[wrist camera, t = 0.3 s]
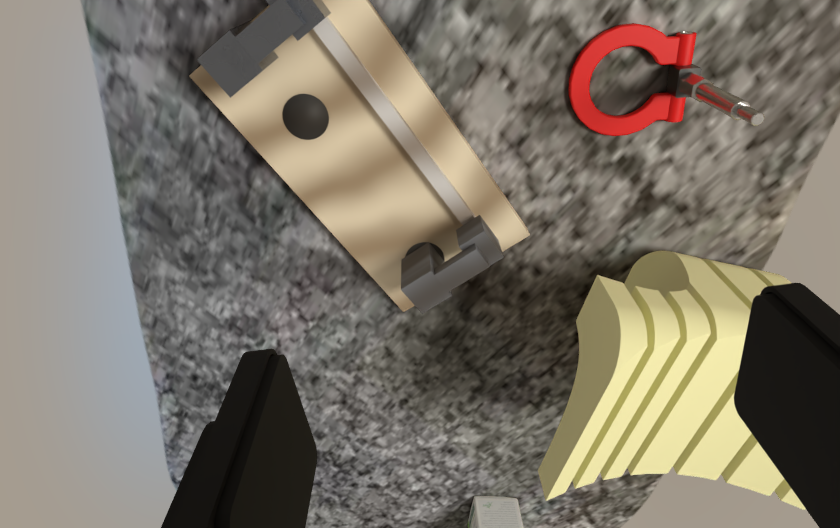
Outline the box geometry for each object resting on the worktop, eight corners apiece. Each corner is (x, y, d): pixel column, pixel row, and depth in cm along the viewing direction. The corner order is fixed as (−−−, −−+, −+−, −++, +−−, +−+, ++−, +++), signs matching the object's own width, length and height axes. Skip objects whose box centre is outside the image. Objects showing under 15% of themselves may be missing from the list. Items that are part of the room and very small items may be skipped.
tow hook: (564, 135, 46) (677, 128, 45) (604, 194, 34) (755, 185, 34) (570, 27, 41) (694, 17, 41) (619, 54, 30) (791, 42, 30)
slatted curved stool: (851, 277, 53) (1034, 412, 37) (763, 396, 60) (885, 548, 45) (562, 215, 49) (633, 337, 33) (508, 351, 57) (545, 501, 41)
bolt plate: (195, 72, 42) (159, 92, 36) (333, -51, 38) (319, -51, 32) (403, 303, 53) (403, 348, 47) (526, 227, 49) (543, 266, 43)
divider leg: (220, 47, 40) (196, 59, 35) (304, -28, 37) (290, -25, 33) (250, 81, 41) (230, 97, 36) (333, 11, 38) (323, 19, 34)
